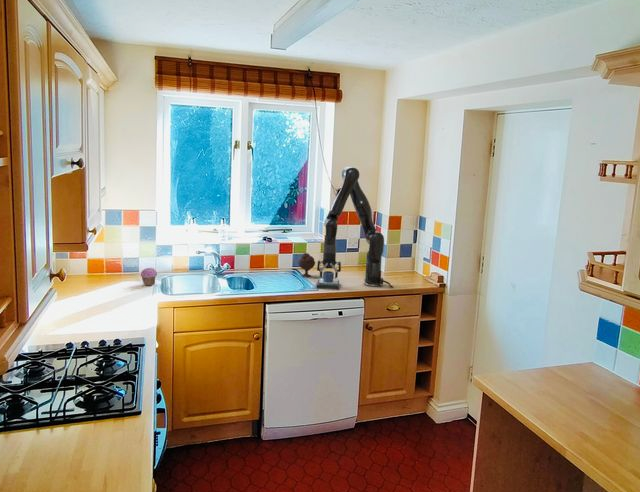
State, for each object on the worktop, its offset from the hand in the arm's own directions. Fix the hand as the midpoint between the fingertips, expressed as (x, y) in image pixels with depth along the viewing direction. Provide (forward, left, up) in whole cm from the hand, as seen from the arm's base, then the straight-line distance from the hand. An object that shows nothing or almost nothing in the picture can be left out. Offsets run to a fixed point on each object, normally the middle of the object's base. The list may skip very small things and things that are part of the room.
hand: (328, 277), depth 281 cm
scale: (0, +1, -5) cm, 5 cm away
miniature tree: (+15, -20, -5) cm, 25 cm away
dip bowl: (0, 0, -2) cm, 2 cm away
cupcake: (+103, +21, -5) cm, 105 cm away
